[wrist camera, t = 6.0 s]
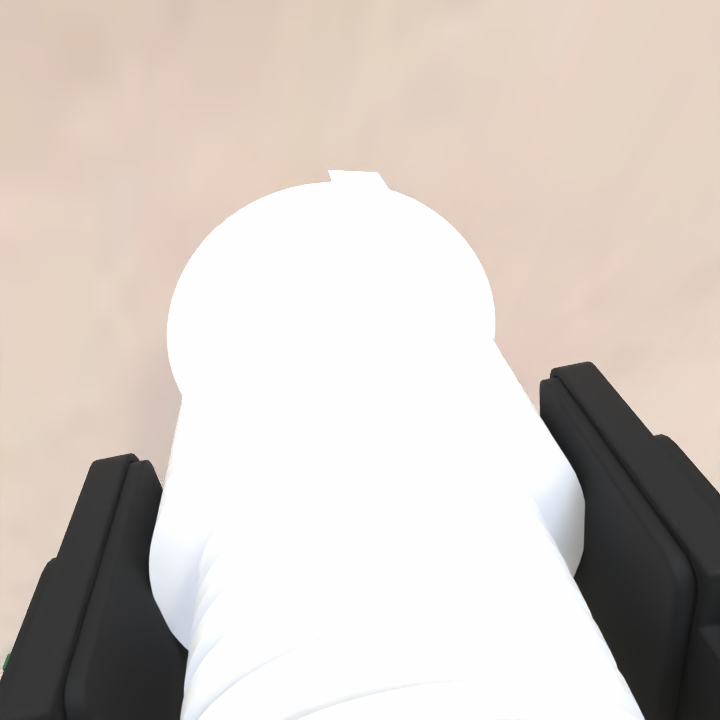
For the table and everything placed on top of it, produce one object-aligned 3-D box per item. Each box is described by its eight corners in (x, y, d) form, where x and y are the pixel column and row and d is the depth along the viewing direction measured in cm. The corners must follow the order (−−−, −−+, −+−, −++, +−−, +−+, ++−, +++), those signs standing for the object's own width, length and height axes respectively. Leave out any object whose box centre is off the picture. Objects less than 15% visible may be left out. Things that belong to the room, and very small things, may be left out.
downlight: (459, 475, 17) (656, 992, 8) (181, 479, 16) (74, 1073, 7) (521, 161, 13) (1032, 529, 4) (155, 142, 12) (-153, 568, 3)
